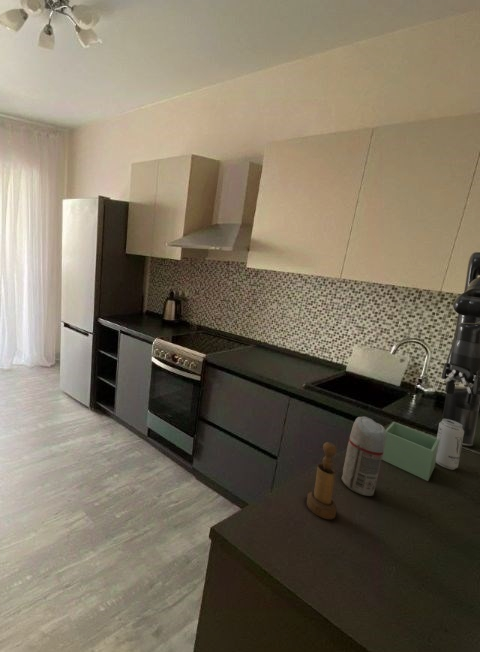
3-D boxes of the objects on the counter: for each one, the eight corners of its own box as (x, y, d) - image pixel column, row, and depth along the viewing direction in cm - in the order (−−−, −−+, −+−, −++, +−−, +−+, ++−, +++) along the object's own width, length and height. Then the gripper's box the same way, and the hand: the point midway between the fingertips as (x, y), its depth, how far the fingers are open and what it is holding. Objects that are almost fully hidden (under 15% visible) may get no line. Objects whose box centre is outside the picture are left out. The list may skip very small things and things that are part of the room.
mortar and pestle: (301, 498, 90) (310, 435, 88) (323, 499, 90) (332, 436, 89) (317, 519, 83) (328, 451, 82) (341, 520, 84) (352, 452, 82)
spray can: (371, 483, 99) (382, 419, 98) (379, 502, 92) (391, 433, 90) (338, 472, 102) (348, 410, 101) (344, 489, 95) (354, 423, 94)
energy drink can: (452, 472, 109) (459, 428, 108) (429, 460, 114) (436, 418, 113) (461, 468, 111) (468, 426, 110) (438, 457, 117) (445, 416, 116)
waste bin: (388, 447, 120) (393, 421, 119) (434, 467, 111) (439, 439, 110) (379, 458, 112) (384, 431, 112) (428, 481, 103) (433, 451, 102)
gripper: (499, 362, 107) (490, 410, 108) (462, 349, 121) (454, 391, 122) (473, 358, 108) (464, 406, 109) (438, 345, 122) (431, 388, 123)
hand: (459, 398), depth 116 cm, fingers open, 8 cm apart
